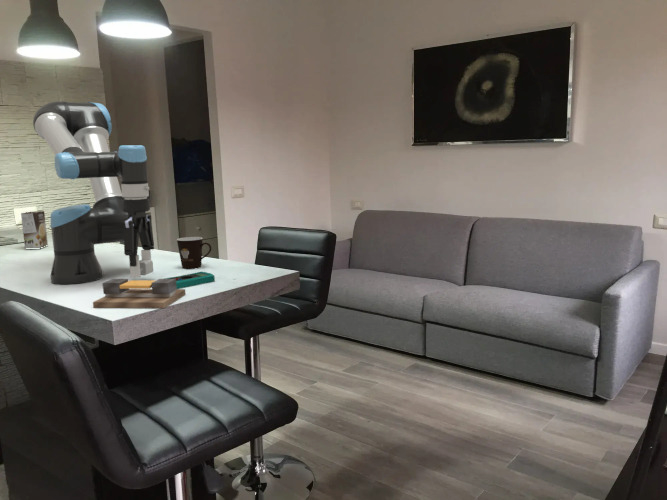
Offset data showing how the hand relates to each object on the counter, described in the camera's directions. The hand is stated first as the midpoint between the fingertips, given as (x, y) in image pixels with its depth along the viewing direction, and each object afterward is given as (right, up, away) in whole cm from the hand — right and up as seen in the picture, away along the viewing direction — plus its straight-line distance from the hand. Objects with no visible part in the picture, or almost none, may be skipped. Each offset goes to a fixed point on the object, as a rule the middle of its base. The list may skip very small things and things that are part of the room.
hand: (141, 273), depth 168 cm
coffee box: (-73, +8, +76) cm, 106 cm away
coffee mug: (+10, +1, +23) cm, 25 cm away
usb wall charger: (0, -1, 0) cm, 1 cm away
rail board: (+7, -6, -21) cm, 23 cm away
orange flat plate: (+7, -2, -21) cm, 23 cm away
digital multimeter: (+15, -4, -2) cm, 15 cm away
